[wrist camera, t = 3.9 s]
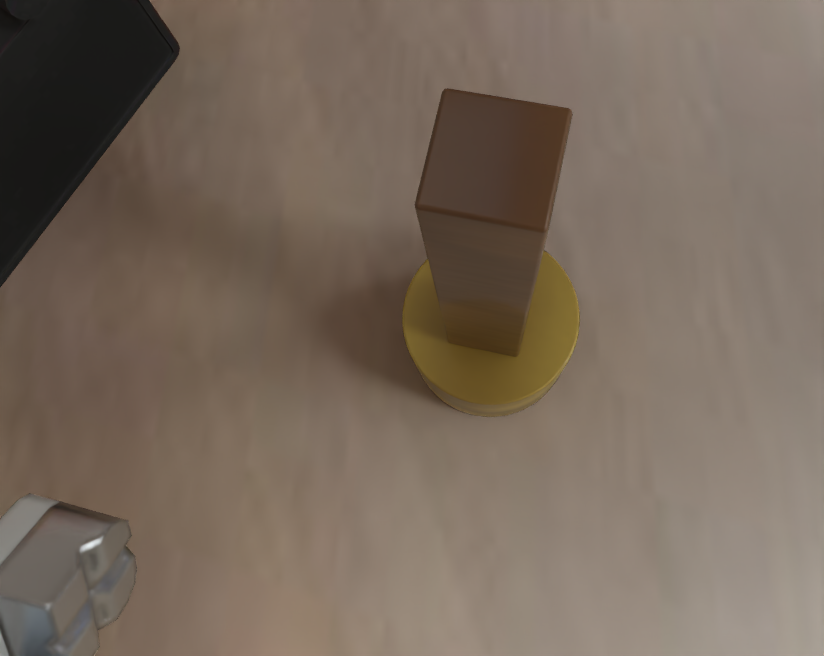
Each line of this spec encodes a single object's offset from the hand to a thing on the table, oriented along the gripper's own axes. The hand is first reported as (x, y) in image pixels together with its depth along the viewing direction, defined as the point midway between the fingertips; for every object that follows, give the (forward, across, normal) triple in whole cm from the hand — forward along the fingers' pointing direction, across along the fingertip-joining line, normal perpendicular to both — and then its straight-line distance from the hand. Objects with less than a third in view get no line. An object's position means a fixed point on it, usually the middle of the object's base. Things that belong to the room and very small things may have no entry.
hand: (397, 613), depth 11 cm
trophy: (+14, 0, +5) cm, 15 cm away
